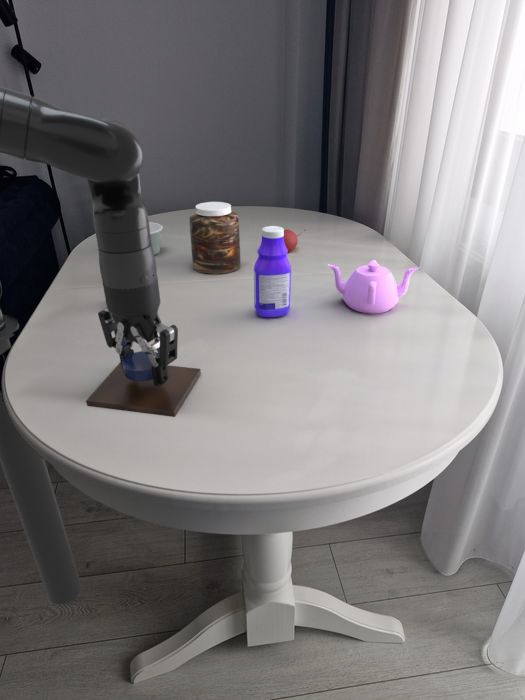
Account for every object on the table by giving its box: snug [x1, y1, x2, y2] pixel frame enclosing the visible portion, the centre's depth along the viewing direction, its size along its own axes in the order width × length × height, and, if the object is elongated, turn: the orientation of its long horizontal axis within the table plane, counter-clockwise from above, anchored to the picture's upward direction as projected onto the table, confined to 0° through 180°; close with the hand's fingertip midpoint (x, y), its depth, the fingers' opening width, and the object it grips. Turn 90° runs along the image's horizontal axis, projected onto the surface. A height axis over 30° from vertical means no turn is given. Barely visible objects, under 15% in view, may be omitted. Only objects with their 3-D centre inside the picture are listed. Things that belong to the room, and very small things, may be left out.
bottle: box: [253, 225, 292, 318], centre depth 100 cm, size 7×6×17 cm
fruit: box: [284, 229, 306, 253], centre depth 137 cm, size 6×6×8 cm
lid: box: [122, 350, 159, 381], centre depth 78 cm, size 6×6×2 cm
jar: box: [189, 201, 241, 275], centre depth 124 cm, size 12×12×15 cm
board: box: [85, 361, 202, 418], centre depth 80 cm, size 14×12×1 cm
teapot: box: [327, 259, 419, 314], centre depth 105 cm, size 12×14×9 cm
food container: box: [149, 221, 164, 256], centre depth 137 cm, size 12×12×6 cm
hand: (145, 377), depth 80 cm, fingers closed on lid, 6 cm apart
